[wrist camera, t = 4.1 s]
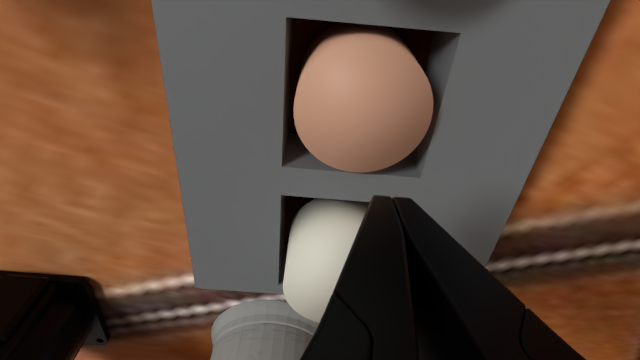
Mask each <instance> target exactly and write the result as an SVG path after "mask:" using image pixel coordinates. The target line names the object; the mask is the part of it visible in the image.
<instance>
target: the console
mask: <svg viewBox="0 0 640 360" xmlns="http://www.w3.org/2000/svg"><path fill="white" fill-rule="evenodd" d="M609 2H610V0H151V3H152V9H153V16H154V22H155V29H156V35H157V42H158V48H159V55H160V61H161V68H162V74H163V80H164V87H165V93H166V100H167V106H168V113H169V119H170V126H171V132H172V139H173V145H174V152H175V158H176V164H177V171H178V177H179V184H180V190H181V197H182V203H183V210H184V216H185V223H186V229H187V235H188V242H189V248H190V255H191V261H192V268H193V274H194V281H195V287H196V288H204V289H218V290H232V291H246V292H260V293H274V294H284V293H283V280H284V272H285V265H286V257H287V250H288V243H284V238H285V212H286V196H298V197H311V198H324V199H336V200H349V201H362V202H370V200H371V198H372V196H373V195H383V196H390V197H391V198H392V197H408V198H411V199H412V200H414V201H415V202H416V203H417V204H418V205H419V206H420V207H421V208H422V209H423V210H424V211H425V212H426V213H428V214H429V215H430V216H431V217H432V218H433V219H434V220H435V221H436V222H437V223H438V224H439V225H440V226H441V227H442V228H444V229H445V230H446V231H447V232H448V233H449V234H450V235H451V236H452V237H453V238H454V239H455V240H456V241H457V242H458V243H460V244H461V245H462V246H463V247H464V248H465V249H466V250H467V251H468V252H469V253H470V254H471V255H472V256H473V257H474V258H476V259H477V260H478V261H479V262H480V263H481V264H482V265H483V266H484V267H486V265H487V263H488V260H489V258H490V256H491V254H492V252H493V250H494V248H495V246H496V243H497V241H498V239H499V237H500V235H501V233H502V231H503V228H504V226H505V224H506V222H507V220H508V218H509V216H510V213H511V211H512V209H513V207H514V205H515V203H516V201H517V199H518V196H519V194H520V192H521V190H522V188H523V186H524V184H525V181H526V179H527V177H528V175H529V173H530V171H531V169H532V167H533V164H534V162H535V160H536V158H537V156H538V154H539V152H540V149H541V147H542V145H543V143H544V141H545V139H546V137H547V135H548V132H549V130H550V128H551V126H552V124H553V122H554V120H555V117H556V115H557V113H558V111H559V109H560V107H561V105H562V102H563V100H564V98H565V96H566V94H567V92H568V90H569V88H570V85H571V83H572V81H573V79H574V77H575V75H576V73H577V70H578V68H579V66H580V64H581V62H582V60H583V58H584V56H585V53H586V51H587V49H588V47H589V45H590V43H591V41H592V38H593V36H594V34H595V32H596V30H597V28H598V26H599V23H600V21H601V19H602V17H603V15H604V13H605V11H606V9H607V6H608V4H609ZM293 18H302V19H313V20H323V21H334V22H345V23H356V24H367V25H378V26H389V27H400V28H411V29H422V30H433V31H435V32H434V36H433V40H432V45H431V49H430V53H429V57H428V61H427V65H426V70H425V75H426V76H427V78H428V81H429V83H430V86H431V90H432V94H433V114H432V119H431V122H430V125H429V128H428V130H427V132H426V134H425V136H424V138H423V139H422V141H421V142H420V144H419V145H418V146H417V147H416V148H415V149H414V150H413V151H412V152H411V153H410V154H409V155H408V156H406V157H405V158H404V159H402V160H401V161H399V162H397V163H396V164H394V165H391V166H389V167H387V168H384V169H381V170H377V171H372V172H348V171H343V170H339V169H336V168H333V167H331V166H329V165H327V164H325V163H323V162H321V161H320V160H319V159H317V158H316V157H315V156H314V155H313V154H311V153H310V152H309V150H308V149H307V148H306V147H305V145H304V144H303V142H302V141H301V139H300V137H299V135H298V133H289V108H290V82H291V56H292V31H293Z"/></svg>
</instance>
